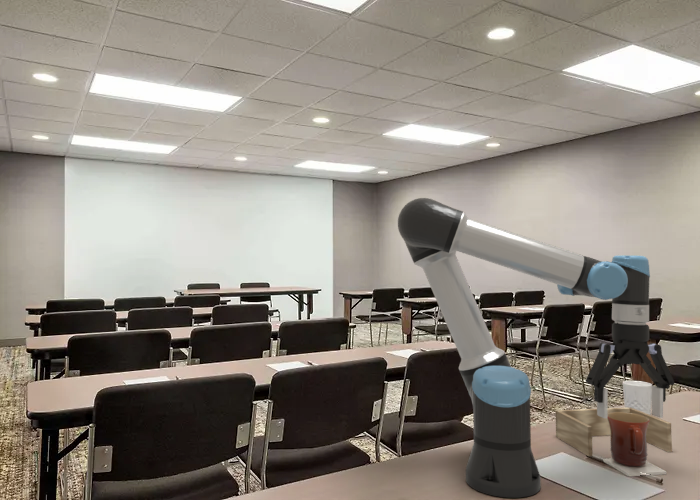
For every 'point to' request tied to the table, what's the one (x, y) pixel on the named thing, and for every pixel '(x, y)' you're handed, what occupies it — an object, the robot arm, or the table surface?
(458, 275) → the robot arm
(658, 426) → the bay
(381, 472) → the table surface
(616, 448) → the mug
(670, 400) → the table surface
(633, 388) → the white cup
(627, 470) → the coaster
